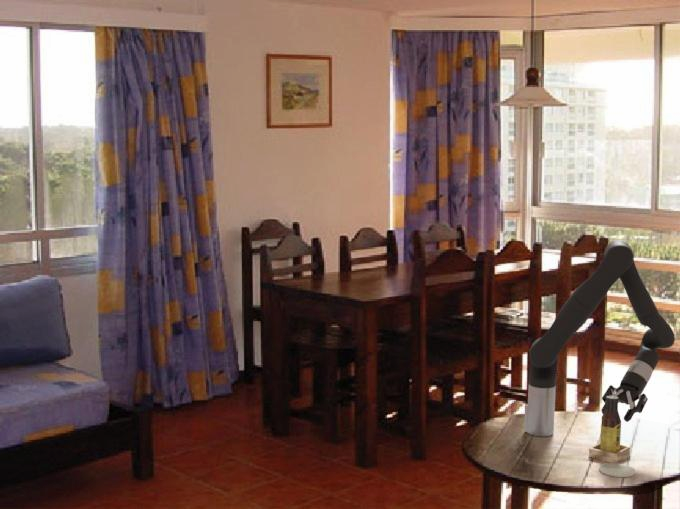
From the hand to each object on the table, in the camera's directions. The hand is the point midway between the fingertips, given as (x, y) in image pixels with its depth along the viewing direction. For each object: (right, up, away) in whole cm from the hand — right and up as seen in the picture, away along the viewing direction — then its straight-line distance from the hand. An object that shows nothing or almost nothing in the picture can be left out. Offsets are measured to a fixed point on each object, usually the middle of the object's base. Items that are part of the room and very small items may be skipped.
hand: (614, 417), depth 343 cm
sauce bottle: (-1, -13, +1) cm, 13 cm away
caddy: (-1, -13, +1) cm, 13 cm away
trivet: (-2, -15, -12) cm, 20 cm away
